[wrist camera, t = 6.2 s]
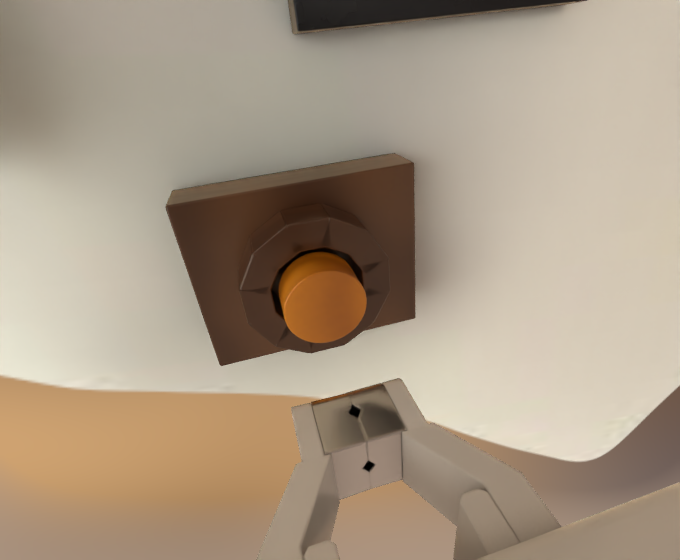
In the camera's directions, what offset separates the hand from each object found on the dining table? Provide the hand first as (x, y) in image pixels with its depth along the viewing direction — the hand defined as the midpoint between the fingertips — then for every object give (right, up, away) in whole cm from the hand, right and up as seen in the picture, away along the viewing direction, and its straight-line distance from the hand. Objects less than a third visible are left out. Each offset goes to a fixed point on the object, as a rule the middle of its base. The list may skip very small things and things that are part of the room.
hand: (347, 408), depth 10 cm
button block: (-2, +5, +9) cm, 10 cm away
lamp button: (-1, +3, +6) cm, 7 cm away
